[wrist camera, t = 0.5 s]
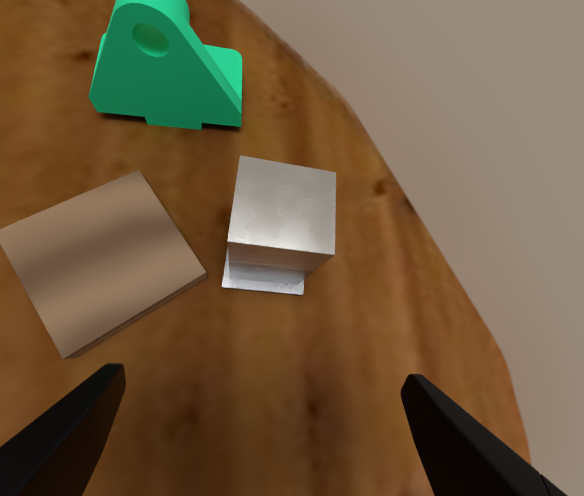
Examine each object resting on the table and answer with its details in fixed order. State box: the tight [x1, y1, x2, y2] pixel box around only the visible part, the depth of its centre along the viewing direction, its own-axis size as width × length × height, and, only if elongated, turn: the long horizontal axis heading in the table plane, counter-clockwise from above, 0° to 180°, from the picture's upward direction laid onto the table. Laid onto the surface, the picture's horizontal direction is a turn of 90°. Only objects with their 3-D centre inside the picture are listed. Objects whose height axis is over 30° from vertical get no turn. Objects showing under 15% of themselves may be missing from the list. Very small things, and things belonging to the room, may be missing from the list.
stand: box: [0, 170, 208, 359], centre depth 20 cm, size 10×10×2 cm
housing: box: [222, 156, 336, 296], centre depth 19 cm, size 6×6×10 cm
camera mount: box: [89, 0, 242, 130], centre depth 22 cm, size 12×8×10 cm, turn 93°
